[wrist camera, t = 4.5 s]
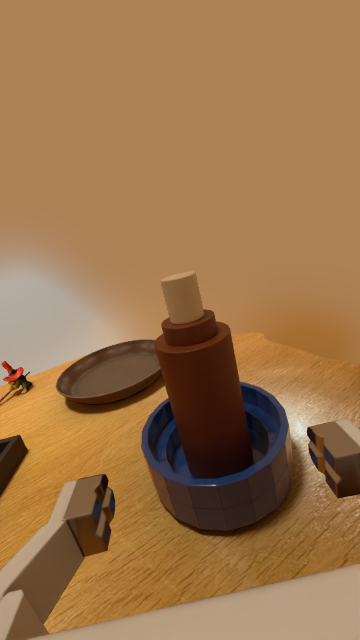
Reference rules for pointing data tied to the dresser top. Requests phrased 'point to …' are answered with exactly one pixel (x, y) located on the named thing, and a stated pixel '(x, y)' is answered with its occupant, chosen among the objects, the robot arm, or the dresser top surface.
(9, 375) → the toy figure
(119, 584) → the dresser top surface
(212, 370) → the bottle
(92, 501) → the robot arm
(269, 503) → the bowl
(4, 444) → the tray
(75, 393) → the plant saucer
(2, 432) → the dresser top surface
